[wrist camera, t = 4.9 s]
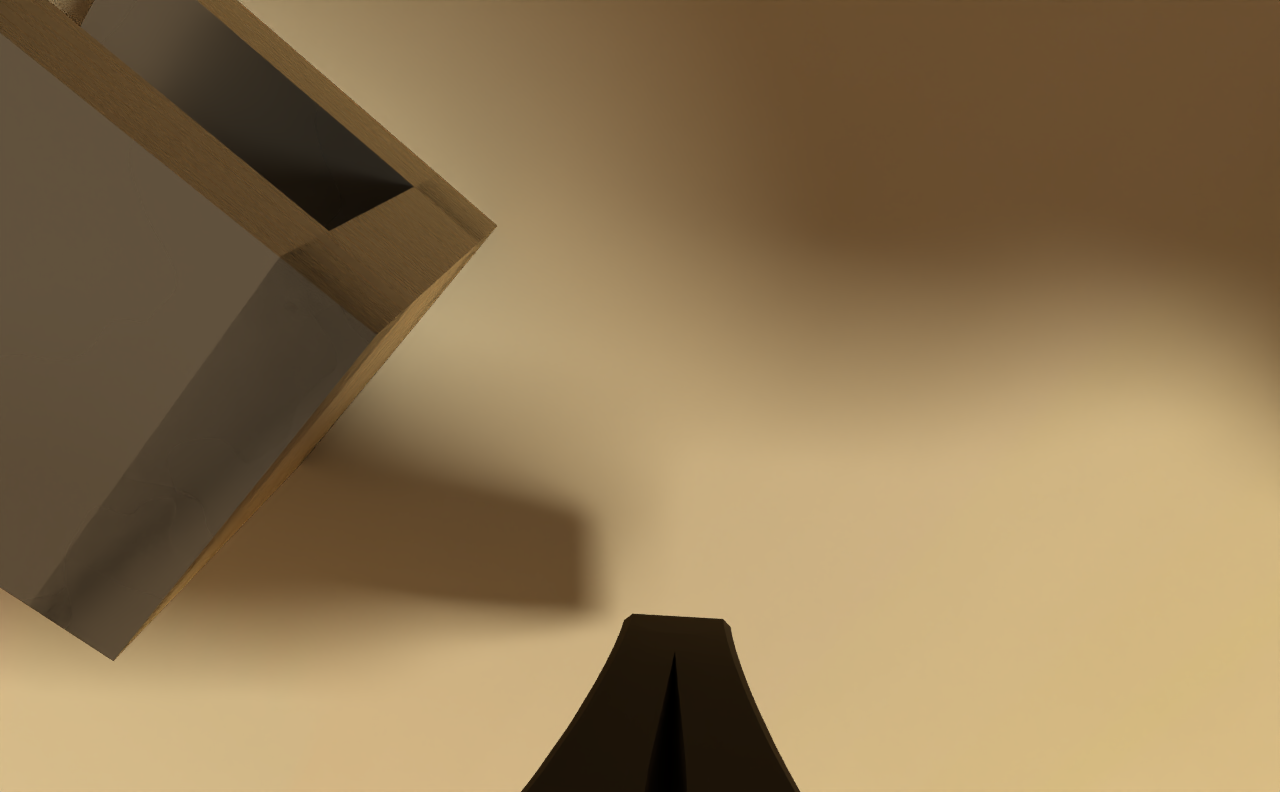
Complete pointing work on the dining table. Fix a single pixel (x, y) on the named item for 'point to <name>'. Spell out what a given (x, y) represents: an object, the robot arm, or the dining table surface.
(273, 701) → the dining table surface
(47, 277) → the open storage bin
